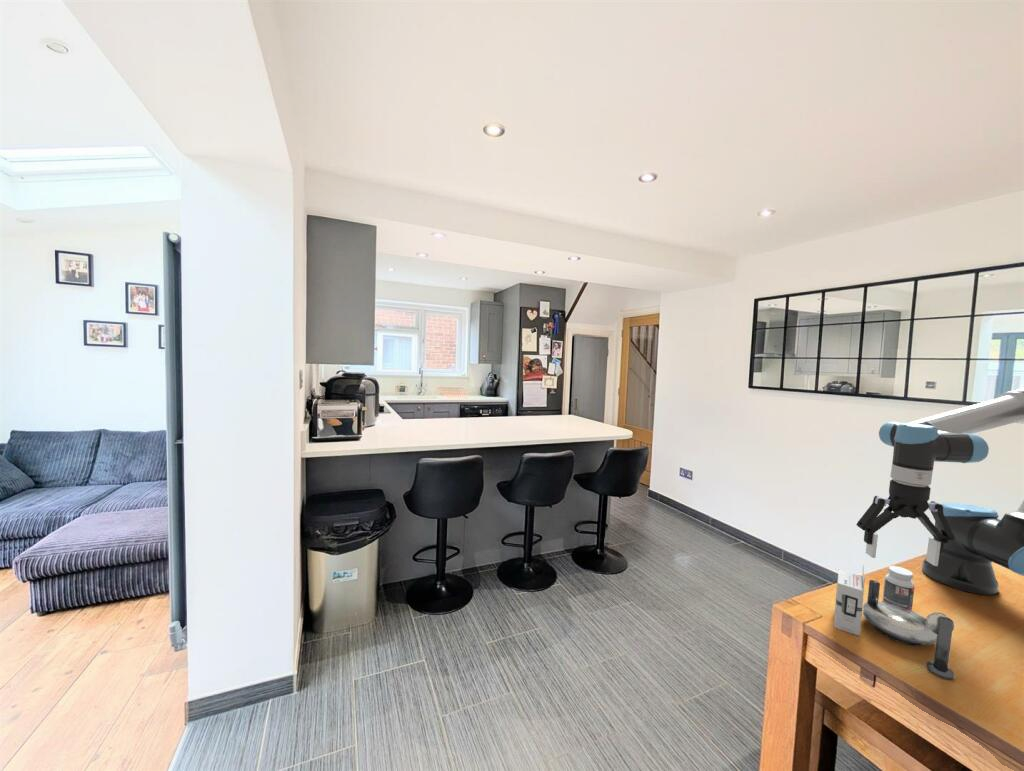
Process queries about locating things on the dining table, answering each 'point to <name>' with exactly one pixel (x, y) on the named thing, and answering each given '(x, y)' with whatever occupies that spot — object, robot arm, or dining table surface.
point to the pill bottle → (899, 587)
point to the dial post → (941, 644)
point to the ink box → (849, 601)
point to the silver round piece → (896, 619)
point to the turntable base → (897, 638)
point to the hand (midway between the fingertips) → (900, 559)
